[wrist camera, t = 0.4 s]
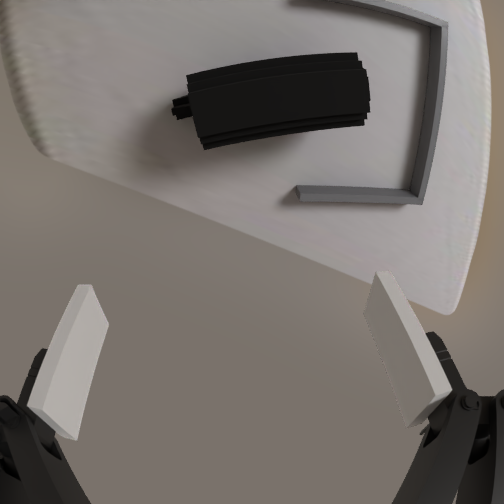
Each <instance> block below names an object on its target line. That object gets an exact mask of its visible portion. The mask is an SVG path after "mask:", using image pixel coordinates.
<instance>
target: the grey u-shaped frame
mask: <svg viewBox="0 0 504 504" xmlns="http://www.w3.org/2000/svg"><path fill="white" fill-rule="evenodd" d="M325 1H331V2H337V3H343V4H348V5H353V6H358V7H363V8H367V9H372V10H376V11H380V12H384V13H387V14H391V15H395V16H398V17H401V18H405V19H408V20H411V21H414V22H417V23H420V24H423V25H426V26H429V27H431V33H430V55H429V69H428V81H427V91H426V99H425V107H424V115H423V122H422V128H421V135H420V141H419V146H418V152H417V157H416V162H415V167H414V172H413V177H412V182H411V186H410V190H403V189H388V188H369V187H345V186H302V185H297V186H296V194H297V196H298V198H299V201H307V202H366V203H395V204H416V205H422V204H423V200H424V196H425V192H426V188H427V184H428V180H429V175H430V171H431V166H432V162H433V157H434V152H435V147H436V141H437V136H438V130H439V123H440V117H441V110H442V103H443V94H444V86H445V75H446V63H447V46H448V22H446V21H444V20H441V19H439V18H436V17H434V16H431V15H428V14H426V13H423V12H420V11H417V10H414V9H411V8H408V7H405V6H402V5H399V4H395V3H392V2H389V1H385V0H325Z"/></svg>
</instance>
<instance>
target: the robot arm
mask: <svg viewBox="0 0 504 504" xmlns="http://www.w3.org/2000/svg"><path fill="white" fill-rule="evenodd" d="M363 314H364V317H365V319H366V321H367V324H368V326H369V328H370V331H371V333H372V336H373V339H374V341H375V344H376V346H377V349H378V351H379V354H380V356H381V359H382V362H383V364H384V367H385V370H386V373H387V375H388V378H389V381H390V383H391V386H392V389H393V392H394V394H395V397H396V400H397V403H398V406H399V409H400V412H401V415H402V418H403V421H404V424H405V427H406V428H409V427H412V426H416V425H418V424H422V422H423V421H425V420H426V418H427V417H428V420H429V422H430V423H429V424H428V425H427V426H426V427H425V428H424V429H423V430H422V431H421V433H420V435H422V434H423V433H425V434H424V436H423V439H422V442H421V444H420V446H419V449H418V451H417V453H416V456H415V458H414V461H413V462H412V465H411V467H410V469H409V471H408V473H407V475H406V477H405V479H404V481H403V483H402V485H401V487H400V489H399V491H398V493H397V495H396V497H395V499H394V501H393V502H392V504H452V503H453V500H454V498H455V495H456V493H457V490H458V494H457V500H456V504H504V390H501V391H500V392H499V393H498V394H497V395H496V396H478V394H477V393H476V392H474V391H472V390H469V389H467V388H466V387H465V385H464V383H463V380H462V378H461V377H460V374H459V372H458V370H457V368H456V366H455V364H454V362H453V360H452V359H451V356H450V354H449V352H448V351H447V348H446V346H445V345H444V343H443V341H442V339H441V338H440V337H439V336H438V335H437V334H436V333H435V332H428V333H425V332H424V330H423V328H422V326H421V325H420V323H419V321H418V319H417V317H416V315H415V313H414V312H413V310H412V308H411V306H410V304H409V303H408V301H407V299H406V297H405V295H404V294H403V292H402V290H401V289H400V287H399V285H398V283H397V282H396V280H395V278H394V277H393V275H392V273H391V272H390V271H380V272H376V273H375V276H374V280H373V283H372V287H371V291H370V294H369V297H368V300H367V304H366V307H365V310H364V313H363ZM108 326H109V323H108V321H107V319H106V317H105V315H104V313H103V310H102V308H101V306H100V304H99V301H98V299H97V297H96V295H95V292H94V290H93V287H92V285H78V286H77V288H76V290H75V292H74V294H73V296H72V298H71V300H70V302H69V304H68V306H67V308H66V310H65V312H64V314H63V317H62V319H61V321H60V323H59V325H58V327H57V330H56V332H55V334H54V337H53V339H52V341H51V343H50V346H49V348H48V349H41V350H40V352H39V353H38V354H37V355H36V356H35V358H34V361H33V363H32V365H31V369H30V370H29V373H28V377H27V378H26V380H25V383H24V386H23V388H22V391H21V394H20V397H19V400H18V402H17V404H16V403H15V402H14V401H13V400H12V399H11V398H10V397H8V396H4V395H3V396H0V504H91V503H90V501H89V500H88V498H87V496H86V495H85V493H84V491H83V490H82V488H81V486H80V484H79V483H78V481H77V479H76V477H75V475H74V474H73V472H72V470H71V468H70V466H69V464H68V462H67V460H66V458H65V456H64V454H63V452H62V450H61V448H60V446H59V444H58V441H57V440H56V438H55V437H54V436H55V432H57V433H58V434H59V435H60V436H62V437H64V438H68V439H73V440H77V438H78V433H79V429H80V425H81V421H82V416H83V412H84V408H85V404H86V400H87V396H88V392H89V389H90V385H91V382H92V378H93V374H94V371H95V368H96V364H97V361H98V357H99V354H100V351H101V348H102V345H103V342H104V338H105V336H106V332H107V329H108Z"/></svg>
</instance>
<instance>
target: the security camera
mask: <svg viewBox="0 0 504 504" xmlns="http://www.w3.org/2000/svg"><path fill="white" fill-rule="evenodd" d="M186 77H187V82H188V84H187V88H188V92H189V93H188V95H187V96H183V97H181V98H177V99H174V100H172V101H173V105H174V107H173V108H172V109H171V110H172V114H173V116H174V115H176V117H177V120H179V119H183V118H187V117H191V116H193V119H194V123H195V127H196V131H197V135H198V138H200V141H201V144H203V148H204V150H207V149H211V148H216V147H220V146H225V145H230V144H235V143H240V142H246V141H251V140H257V139H262V138H268V137H274V136H281V135H287V134H294V133H301V132H308V131H316V130H324V129H333V128H342V127H352V126H364V119H367V113H369V112H370V103H369V101H370V91H369V80H368V77H367V72H366V69H364V68H362V61H358V55H357V52H355V53H327V54H312V55H300V56H290V57H281V58H273V59H266V60H259V61H253V62H247V63H241V64H236V65H230V66H225V67H220V68H216V69H211V70H206V71H202V72H198V73H194V74H190V75H186Z"/></svg>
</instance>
